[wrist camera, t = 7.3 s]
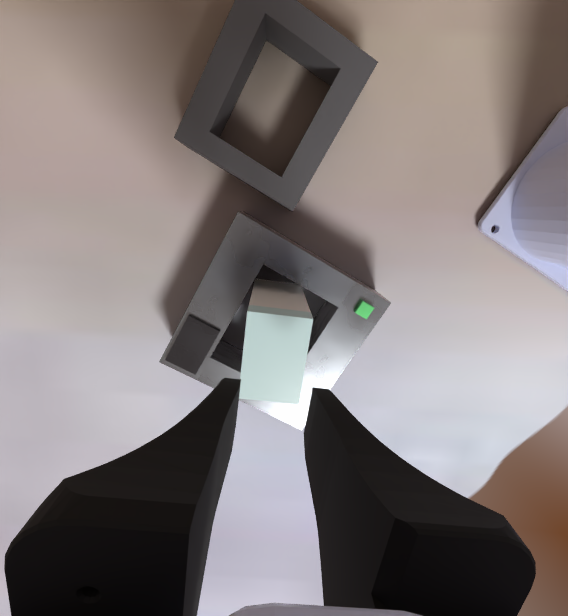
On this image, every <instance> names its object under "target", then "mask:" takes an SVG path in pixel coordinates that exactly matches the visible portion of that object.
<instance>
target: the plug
mask: <svg viewBox="0 0 568 616" xmlns="http://www.w3.org/2000/svg"><path fill="white" fill-rule="evenodd" d="M312 324H313V317H312V314H311V311H310V309H309V306H308V303H307V300H306V298H305V295H304V292H303V289H302V287H301V286H300V285H299V284H295V283H287V282H279V281H271V280H263V279H255V282H254V286H253V290H252V294H251V298H250V302H249V306H248V311H247V319H246V328H245V338H244V347H243V356H242V365H241V375H240V379H241V385H240V393H239V399H249V400H259V401H269V402H279V403H289V404H299V400H300V394H301V388H302V382H303V376H304V370H305V365H306V359H307V353H308V347H309V341H310V335H311V330H312Z"/></svg>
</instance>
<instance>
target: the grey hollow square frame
mask: <svg viewBox="0 0 568 616" xmlns="http://www.w3.org/2000/svg"><path fill="white" fill-rule="evenodd" d="M266 40H267V41H268V42H270V43H271V44H273V45H274V46H275V47H277V48H278V49H280V50H281V51H282V52H284V53H285V54H287V55H288V56H289V57H291V58H292V59H294V60H295V61H296V62H298V63H299V64H301V65H302V66H303V67H305V68H306V69H308V70H309V71H310V72H312V73H313V74H315V75H316V76H317V77H319V78H320V79H322V80H323V81H324V82H326V83H327V84H329V85H330V86H331V87H330V89H329V91H328V93H327V95H326V97H325V98H324V100H323V102H322V104H321V106H320V108H319V109H318V111H317V113H316V115H315V117H314V119H313V120H312V122H311V124H310V126H309V128H308V130H307V131H306V133H305V135H304V137H303V139H302V141H301V142H300V144H299V146H298V148H297V150H296V152H295V153H294V155H293V157H292V159H291V161H290V163H289V164H288V166H287V168H286V170H285V172H284V174H283V175H282V177H280V176H278V175H277V174H275V173H274V172H272V171H271V170H269V169H267V168H266V167H264V166H263V165H261V164H260V163H258V162H256V161H255V160H253V159H252V158H250V157H248V156H247V155H245V154H244V153H242V152H241V151H239V150H237V149H236V148H234V147H233V146H231V145H230V144H228V143H226V142H225V141H223V140H222V139H220V138H219V137H220V135H221V133H222V131H223V129H224V127H225V125H226V123H227V121H228V118H229V116H230V114H231V112H232V110H233V108H234V106H235V104H236V102H237V100H238V98H239V96H240V93H241V91H242V89H243V87H244V85H245V83H246V81H247V79H248V77H249V75H250V73H251V71H252V68H253V66H254V64H255V62H256V60H257V58H258V56H259V54H260V52H261V50H262V48H263V46H264V43H265V41H266ZM377 63H378V62H377V61H376V60H375V59H373V58H372V57H371V56H369V55H368V54H367V53H365V52H364V51H363V50H362V49H360V48H359V47H358V46H356V45H355V44H354V43H352V42H351V41H350V40H348V39H347V38H346V37H344V36H343V35H342V34H340V33H339V32H338V31H336V30H335V29H334V28H332V27H331V26H330V25H328V24H327V23H326V22H324V21H323V20H322V19H320V18H319V17H318V16H316V15H315V14H314V13H312V12H311V11H310V10H309V9H307V8H306V7H305V6H303V5H302V4H301V3H299V2H298V1H297V0H235V2H234V4H233V6H232V8H231V11H230V13H229V15H228V17H227V20H226V22H225V24H224V26H223V29H222V31H221V33H220V35H219V38H218V40H217V42H216V44H215V46H214V49H213V51H212V53H211V55H210V58H209V60H208V62H207V64H206V67H205V69H204V71H203V73H202V76H201V78H200V80H199V82H198V85H197V87H196V89H195V91H194V94H193V96H192V98H191V100H190V103H189V105H188V107H187V109H186V112H185V114H184V116H183V118H182V121H181V123H180V125H179V127H178V130H177V132H176V134H175V136H174V138H175V139H177V140H178V141H179V142H181V143H182V144H184V145H185V146H186V147H188V148H190V149H191V150H193V151H194V152H196V153H198V154H199V155H201V156H203V157H204V158H206V159H207V160H209V161H211V162H212V163H214V164H216V165H217V166H219V167H220V168H222V169H224V170H225V171H227V172H229V173H230V174H232V175H233V176H235V177H237V178H238V179H240V180H242V181H243V182H245V183H246V184H248V185H250V186H251V187H253V188H254V189H256V190H258V191H259V192H261V193H263V194H264V195H266V196H267V197H269V198H271V199H272V200H274V201H276V202H277V203H279V204H280V205H282V206H284V207H285V208H287V209H289V210H290V211H293V210H294V209H295V207H296V205H297V203H298V202H299V200H300V198H301V196H302V195H303V193H304V191H305V189H306V187H307V186H308V184H309V182H310V180H311V179H312V177H313V175H314V173H315V172H316V170H317V168H318V166H319V165H320V163H321V161H322V159H323V158H324V156H325V154H326V152H327V151H328V149H329V147H330V145H331V144H332V142H333V140H334V138H335V137H336V135H337V133H338V131H339V130H340V128H341V126H342V124H343V123H344V121H345V119H346V117H347V116H348V114H349V112H350V110H351V109H352V107H353V105H354V103H355V102H356V100H357V98H358V96H359V95H360V93H361V91H362V89H363V88H364V86H365V84H366V82H367V81H368V79H369V77H370V75H371V74H372V72H373V70H374V68H375V67H376V65H377Z"/></svg>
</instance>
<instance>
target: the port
mask: <svg viewBox="0 0 568 616" xmlns="http://www.w3.org/2000/svg"><path fill="white" fill-rule="evenodd" d="M263 264H264V265H265V266H267V267H269V268H271V269H272V270H274V271H276V272H278V273H279V274H281V275H283V276H285V277H286V278H288V279H290V280H292V281H293V282H295V283H297V284H299V285H300V286H302V287H304V288H306V289H307V290H309V291H311V292H313V293H314V294H316V295H318V296H320V297H321V298H323V299H325V300H326V301H325V303H324V304H323V306H322V307H321V309H320V310H319V312H318V313H317V315H316V317H315V318H314V320H313V324H312V330H311V335H310V341H309V347H308V353H307V359H306V365H305V370H304V376H303V382H302V388H301V394H300V400H299V404H289V403H279V402H269V401H259V400H249V399H239V400H240V401H242V402H244V403H246V404H248V405H250V406H252V407H254V408H256V409H258V410H260V411H262V412H265V413H267V414H269V415H271V416H273V417H275V418H277V419H279V420H281V421H283V422H285V423H287V424H290V425H292V426H294V427H296V428H298V429H300V430H302V429H303V427H304V426H305V424H306V420H307V414H308V409H309V404H310V399H311V394H312V388H313V387H314V388H323V389H329V390H330V389H331V387H332V386H333V385H334V383H335V382H336V380H337V379H338V378H339V376H340V375H341V373H342V372H343V370H344V369H345V368H346V366H347V365H348V363H349V362H350V361H351V359H352V358H353V356H354V355H355V353H356V352H357V351H358V349H359V348H360V346H361V345H362V343H363V342H364V341H365V339H366V338H367V336H368V335H369V334H370V332H371V331H372V329H373V328H374V326H375V325H376V324H377V322H378V321H379V319H380V318H381V317H382V315H383V314H384V312H385V311H386V309H387V308H388V307H389V305H390V304H391V303H390V302H389V301H388V300H387V299H385V298H384V297H383V296H382V295H381V294H379V293H378V292H377V291H376V290H374V289H372V288H371V287H369V286H367V285H366V284H364V283H362V282H361V281H359V280H357V279H356V278H354V277H352V276H351V275H349V274H347V273H346V272H344V271H342V270H341V269H339V268H337V267H336V266H334V265H332V264H330V263H329V262H327V261H325V260H324V259H322V258H320V257H319V256H317V255H315V254H314V253H312V252H310V251H309V250H307V249H305V248H304V247H302V246H300V245H299V244H297V243H295V242H294V241H292V240H290V239H289V238H287V237H285V236H284V235H282V234H280V233H279V232H277V231H275V230H274V229H272V228H270V227H269V226H267V225H265V224H264V223H262V222H260V221H259V220H257V219H255V218H254V217H252V216H250V215H249V214H247V213H245V212H244V211H241V212H238V213H237V215H236V217H235V219H234V221H233V222H232V224H231V226H230V228H229V230H228V232H227V234H226V236H225V238H224V240H223V241H222V243H221V245H220V247H219V249H218V251H217V253H216V255H215V257H214V259H213V260H212V262H211V264H210V266H209V268H208V270H207V272H206V274H205V276H204V278H203V280H202V281H201V283H200V285H199V287H198V289H197V291H196V293H195V295H194V297H193V299H192V300H191V302H190V304H189V306H188V308H187V310H186V312H185V314H184V316H183V318H182V320H181V321H180V323H179V325H178V327H177V329H176V331H175V333H174V335H173V337H172V339H171V340H170V342H169V344H168V346H167V348H166V350H165V352H164V354H163V356H162V358H161V359H160V361H159V362H160V363H162V364H164V365H166V366H169V367H171V368H173V369H175V370H177V371H179V372H181V373H183V374H185V375H187V376H189V377H192V378H194V379H196V380H198V381H200V382H202V383H204V384H206V385H208V386H210V387H212V388H215V387H216V386H217V385H218V384H219V382H220V381H221V380H222V379H223V378H232V379H240V375H241V365H242V356H243V351H242V350H240V349H238V348H236V347H234V346H232V345H230V344H228V343H226V342H224V341H222V340H221V338H222V336H223V334H224V332H225V331H226V329H227V327H228V325H229V323H230V322H231V320H232V318H233V316H234V315H235V313H236V311H237V309H238V308H239V306H240V304H241V302H242V301H243V299H244V297H245V295H246V294H247V292H248V290H249V288H250V287H251V285H252V283H253V281H254V280H255V278H256V276H257V274H258V273H259V271H260V269H261V267H262V266H263Z"/></svg>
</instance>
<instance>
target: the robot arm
mask: <svg viewBox="0 0 568 616" xmlns="http://www.w3.org/2000/svg"><path fill="white" fill-rule="evenodd" d="M492 226H495V231H494V232H493V233H492V232H491V228H492ZM478 229H479V231H480V232H482V233H483V234H485V235H486V236H488V237H489V238H490V239H492V240H493V241H495V242H496V243H498V244H499V245H501V246H502V247H504V248H505V249H506V250H508V251H509V252H511V253H512V254H514V255H515V256H517V257H518V258H520V259H521V260H523V261H524V262H525V263H527V264H528V265H530V266H531V267H533V268H534V269H536V270H537V271H539V272H540V273H541V274H543V275H544V276H546V277H547V278H549V279H550V280H552V281H553V282H555V283H556V284H557V285H559V286H560V287H562V288H563V289H565V290H566V291H568V106H567V107H564V108H562V109H561V110H560V111H559V113H558V114H557V115H556V117H555V118H554V119H553V121H552V122H551V123H550V125H549V126H548V128H547V129H546V130H545V132H544V133H543V134H542V136H541V137H540V139H539V140H538V141H537V143H536V144H535V145H534V147H533V148H532V150H531V151H530V152H529V154H528V155H527V156H526V158H525V159H524V160H523V162H522V163H521V165H520V166H519V167H518V169H517V170H516V171H515V173H514V174H513V176H512V177H511V178H510V180H509V181H508V182H507V184H506V185H505V187H504V188H503V189H502V191H501V192H500V193H499V195H498V196H497V197H496V199H495V200H494V202H493V203H492V204H491V206H490V207H489V208H488V210H487V211H486V213H485V214H484V215H483V217H482V218H481V219H480V221H479V223H478ZM240 385H241V379H232V378H223V379H222V380H221V381H220V382H219V384H218V385H217V386H216V387H215V388H214V390H213V391H212V392H211V393H210V394H209V395H208V396H207V397H206V398H205V399H204V400H203V401H202V402H201V403H200V404H199V405H198V406H197V407H196V408H195V409H194V410H193V411H192V412H190V413H189V414H188V415H187V416H186V417H185V418H183V419H182V420H181V421H180V422H178V423H177V424H176V425H175V426H173V427H172V428H170V429H169V430H168V431H166V432H165V433H163V434H162V435H160V436H159V437H157V438H155V439H153V440H152V441H150V442H148V443H147V444H145V445H143V446H141V447H140V448H138V449H136V450H134V451H132V452H130V453H128V454H126V455H124V456H122V457H119V458H117V459H115V460H113V461H111V462H108V463H106V464H103V465H101V466H98V467H96V468H93V469H90V470H88V471H85V472H82V473H80V474H77V475H74V476H71V477H68V478H65V479H64V480H63V481H62V482H61V483H60V484H59V485H58V486H57V487H56V488H55V489H54V490H53V492H52V493H51V494H50V495H49V496H48V497H47V498H46V499H45V500H44V502H43V503H42V504H41V505H40V506H39V507H38V509H37V510H36V511H35V513H34V514H33V515H32V516H31V518H30V519H29V520H28V522H27V523H26V524H25V525H24V527H23V528H22V529H21V531H20V532H19V533H18V534H17V536H16V537H15V538H14V539H13V541H12V542H11V544H10V546H9V548H8V550H7V552H6V554H5V568H4V569H5V576H6V582H7V589H8V596H9V602H10V609H11V615H12V616H197V611H198V605H199V599H200V593H201V588H202V582H203V576H204V570H205V565H206V559H207V553H208V548H209V542H210V536H211V531H212V525H213V520H214V516H215V512H216V508H217V504H218V500H219V497H220V493H221V489H222V486H223V482H224V478H225V474H226V471H227V467H228V463H229V460H230V456H231V452H232V446H233V440H234V433H235V427H236V418H237V410H238V401H239V393H240ZM304 446H305V460H306V466H307V471H308V477H309V482H310V488H311V493H312V499H313V504H314V509H315V515H316V521H317V528H318V536H319V548H320V559H321V572H322V586H323V599H324V606H316V605H300V604H283V603H269V604H261V605H253V606H245V607H243V608H241V609H240V610H238V611H236V612H234V613H233V614H231V615H229V616H517V615H518V613H519V611H520V609H521V607H522V605H523V603H524V601H525V599H526V597H527V595H528V593H529V592H530V590H531V587H532V584H533V582H534V579H535V574H536V571H535V570H536V569H535V560H534V558H533V556H532V554H531V552H530V550H529V549H528V548H527V546H526V545H525V544H524V542H523V541H522V540H521V538H520V537H519V536H518V535H517V533H516V532H515V530H514V529H513V528H512V526H511V525H510V524H509V523H508V521H507V520H506V518H505V517H504V516H503V515H501V514H499V513H497V512H495V511H493V510H490V509H488V508H486V507H484V506H482V505H480V504H478V503H476V502H474V501H472V500H470V499H468V498H465V497H464V496H462V495H460V494H458V493H456V492H454V491H453V490H451V489H449V488H447V487H445V486H444V485H442V484H440V483H438V482H437V481H435V480H433V479H432V478H430V477H428V476H427V475H425V474H424V473H422V472H421V471H419V470H418V469H416V468H415V467H413V466H412V465H410V464H409V463H407V462H406V461H405V460H403V459H402V458H400V457H399V456H398V455H396V454H395V453H394V452H393V451H391V450H390V449H389V448H388V447H386V446H385V445H384V444H383V443H381V442H380V441H379V440H378V439H377V438H376V437H375V436H374V435H372V434H371V433H370V432H369V431H368V430H367V429H366V428H365V427H364V426H363V425H362V424H361V423H360V422H359V421H358V420H357V419H356V418H355V417H354V416H353V415H352V414H351V413H350V412H349V411H348V410H347V408H346V407H345V406H344V405H343V404H342V403H341V402H340V401H339V400H338V399H337V397H336V396H335V395H334V394H333V393H332V392H331V391H330V390H329V389H323V388H314V387H313V388H312V394H311V399H310V404H309V409H308V414H307V420H306V425H305V430H304Z"/></svg>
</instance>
